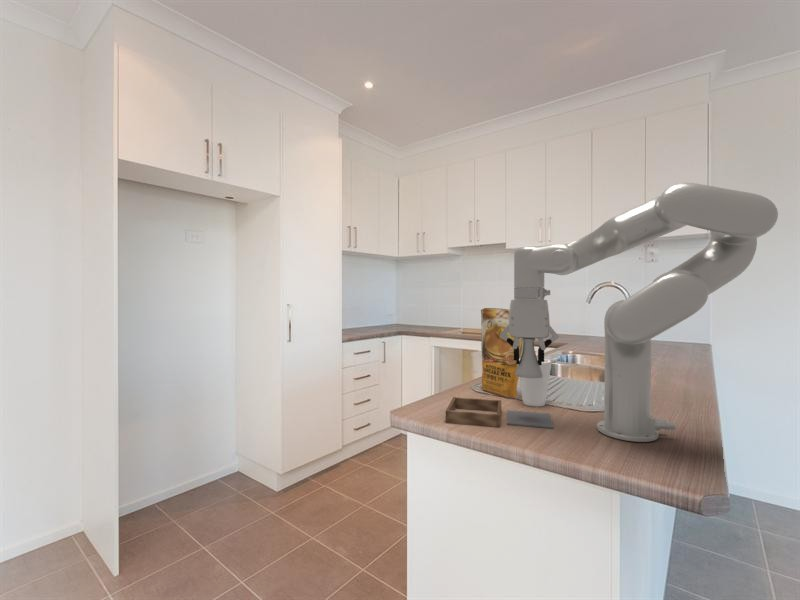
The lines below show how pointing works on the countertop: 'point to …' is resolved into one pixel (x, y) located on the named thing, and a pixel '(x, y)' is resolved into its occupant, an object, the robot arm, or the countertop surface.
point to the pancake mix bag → (498, 354)
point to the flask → (528, 361)
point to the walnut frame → (474, 417)
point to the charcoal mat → (529, 419)
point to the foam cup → (536, 386)
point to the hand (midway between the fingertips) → (528, 363)
